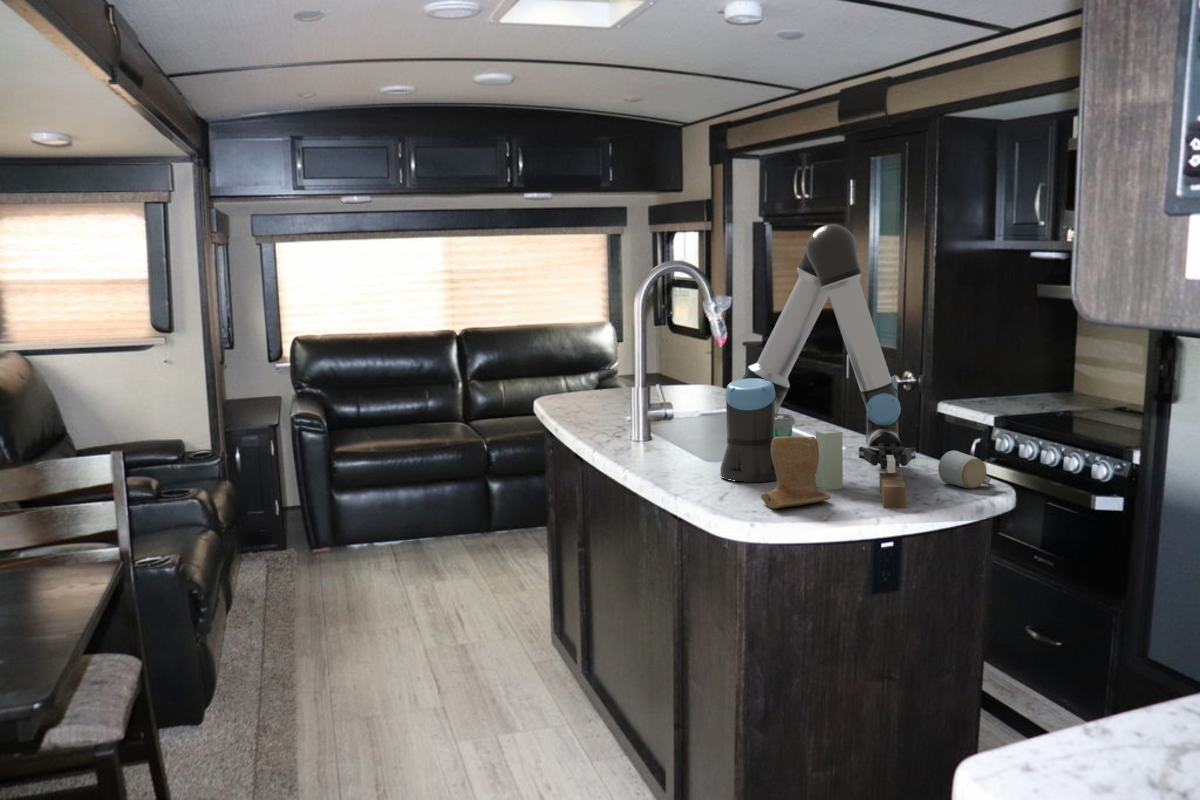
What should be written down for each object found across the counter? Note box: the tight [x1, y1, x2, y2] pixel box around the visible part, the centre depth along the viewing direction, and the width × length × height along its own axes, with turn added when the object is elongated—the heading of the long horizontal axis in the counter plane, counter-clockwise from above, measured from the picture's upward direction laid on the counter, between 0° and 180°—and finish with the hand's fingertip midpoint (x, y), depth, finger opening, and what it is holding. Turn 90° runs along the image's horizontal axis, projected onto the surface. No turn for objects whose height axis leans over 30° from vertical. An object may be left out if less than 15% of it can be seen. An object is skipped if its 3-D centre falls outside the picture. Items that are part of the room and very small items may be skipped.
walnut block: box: [879, 472, 907, 509], centre depth 210 cm, size 4×4×14 cm
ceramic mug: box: [938, 450, 992, 490], centre depth 221 cm, size 11×8×8 cm
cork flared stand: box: [760, 435, 832, 509], centre depth 210 cm, size 15×12×15 cm
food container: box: [775, 412, 796, 437], centre depth 269 cm, size 12×6×10 cm, turn 168°
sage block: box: [815, 428, 844, 491], centre depth 224 cm, size 4×4×13 cm
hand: (891, 466), depth 211 cm, fingers closed
